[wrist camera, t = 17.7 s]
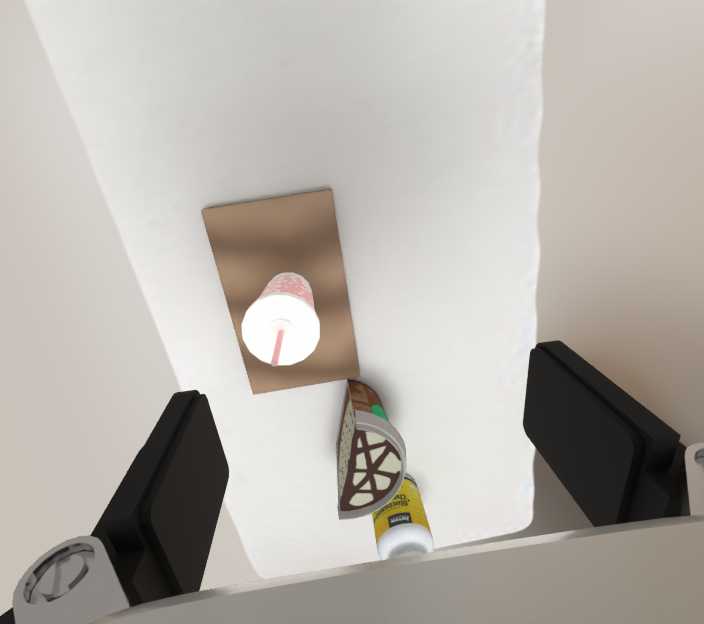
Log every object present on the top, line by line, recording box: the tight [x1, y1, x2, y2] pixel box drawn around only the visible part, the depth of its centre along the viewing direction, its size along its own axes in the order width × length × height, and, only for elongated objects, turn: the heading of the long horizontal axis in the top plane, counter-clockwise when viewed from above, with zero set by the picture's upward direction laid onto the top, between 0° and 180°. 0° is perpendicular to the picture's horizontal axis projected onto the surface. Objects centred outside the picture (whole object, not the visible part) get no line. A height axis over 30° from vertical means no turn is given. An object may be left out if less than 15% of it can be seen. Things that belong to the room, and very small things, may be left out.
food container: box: [336, 379, 406, 520], centre depth 41 cm, size 12×6×10 cm, turn 171°
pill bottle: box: [372, 475, 434, 560], centre depth 45 cm, size 6×6×12 cm
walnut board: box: [201, 189, 360, 395], centre depth 39 cm, size 20×12×2 cm, turn 8°
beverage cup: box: [241, 273, 320, 366], centre depth 32 cm, size 6×6×14 cm
